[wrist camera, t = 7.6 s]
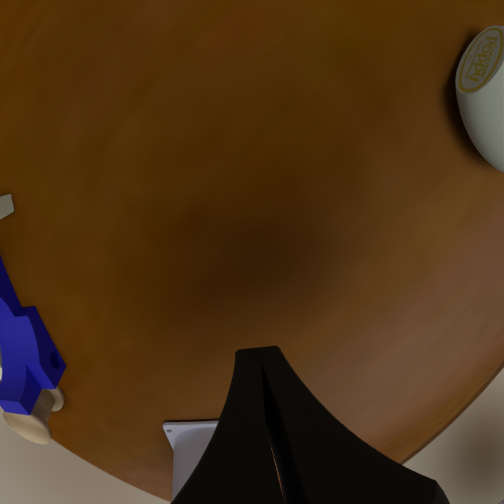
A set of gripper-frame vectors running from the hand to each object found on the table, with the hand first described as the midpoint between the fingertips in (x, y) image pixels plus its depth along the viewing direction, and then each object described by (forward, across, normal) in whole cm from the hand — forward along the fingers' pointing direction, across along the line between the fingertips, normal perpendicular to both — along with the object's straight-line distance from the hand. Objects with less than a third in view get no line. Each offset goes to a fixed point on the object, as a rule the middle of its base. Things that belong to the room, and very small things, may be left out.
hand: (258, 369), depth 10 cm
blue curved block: (+10, +18, +3) cm, 21 cm away
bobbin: (+10, +20, +12) cm, 25 cm away
